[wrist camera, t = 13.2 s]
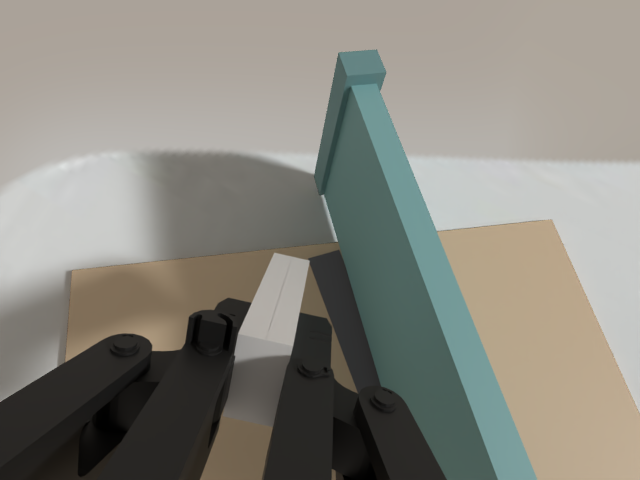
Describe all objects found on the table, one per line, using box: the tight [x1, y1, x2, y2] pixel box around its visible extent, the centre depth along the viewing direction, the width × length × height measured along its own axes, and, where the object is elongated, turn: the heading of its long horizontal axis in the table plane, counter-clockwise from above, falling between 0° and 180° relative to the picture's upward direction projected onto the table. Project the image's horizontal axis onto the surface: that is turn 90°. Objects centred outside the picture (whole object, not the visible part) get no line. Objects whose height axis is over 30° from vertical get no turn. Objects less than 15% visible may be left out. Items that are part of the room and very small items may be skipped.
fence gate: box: [314, 50, 537, 480], centre depth 19 cm, size 20×2×10 cm, turn 14°
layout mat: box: [65, 220, 640, 480], centre depth 22 cm, size 30×22×1 cm
